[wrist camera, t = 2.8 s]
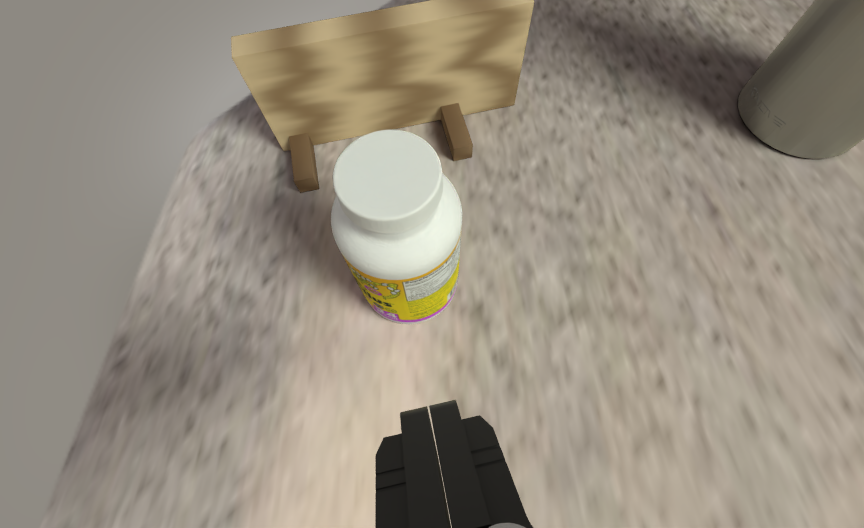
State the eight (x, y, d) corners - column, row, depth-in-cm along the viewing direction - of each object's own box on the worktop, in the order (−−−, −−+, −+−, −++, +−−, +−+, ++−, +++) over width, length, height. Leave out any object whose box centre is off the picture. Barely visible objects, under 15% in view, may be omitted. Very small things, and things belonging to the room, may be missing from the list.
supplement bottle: (348, 266, 30) (284, 148, 18) (428, 225, 31) (417, 89, 19) (390, 345, 27) (348, 269, 15) (475, 298, 28) (495, 193, 17)
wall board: (507, 88, 36) (524, -17, 28) (530, 145, 34) (557, 47, 25) (281, 133, 35) (231, 36, 27) (287, 195, 32) (233, 109, 24)
